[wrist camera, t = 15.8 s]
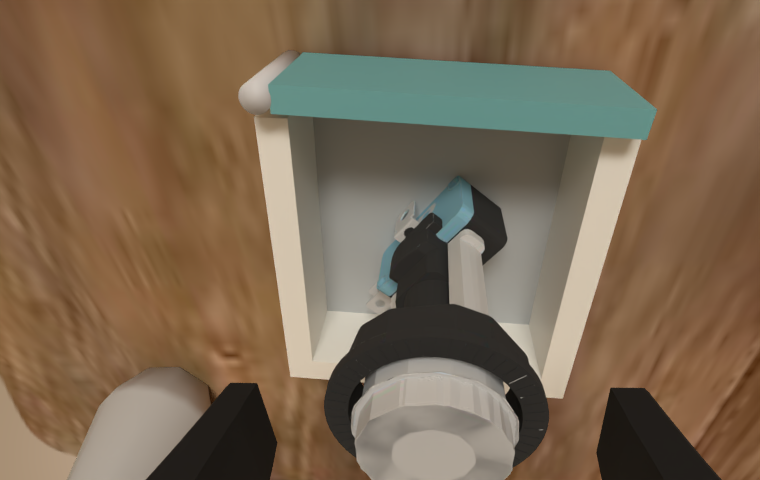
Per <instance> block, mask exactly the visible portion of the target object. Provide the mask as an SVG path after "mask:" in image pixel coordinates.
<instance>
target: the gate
mask: <svg viewBox="0 0 760 480" xmlns="http://www.w3.org/2000/svg"><path fill="white" fill-rule="evenodd" d="M239 101H240V103H241V105H242V107H243V108H244V109H245V110H246V111H248V112H249V113H251V114H254V115H261V114H264V113H265V112H267V111H268V110H269V109H270V112H271V114H278V115H293V116H307V117H322V118H336V119H351V120H365V121H380V122H394V123H409V124H423V125H438V126H452V127H467V128H481V129H496V130H510V131H525V132H539V133H554V134H568V135H583V136H597V137H612V138H626V139H641V140H647V137H648V134H649V132H650V129H651V126H652V123H653V120H654V117H655V114H656V111H657V109H656V108H655V107H653V106H652V105H651V104H650V103H648V102H647V101H646V100H645V99H644V98H642V97H641V96H640V95H639V94H638V93H636V92H635V91H634V90H633V89H632V88H630V87H629V86H628V85H627V84H625V83H624V82H623V81H622V80H621V79H619V78H618V77H617V76H616V75H615V74H613V73H612V72H611V71H604V70H587V69H571V68H554V67H537V66H521V65H504V64H487V63H471V62H454V61H438V60H421V59H404V58H388V57H371V56H354V55H338V54H321V53H305V52H303V53H302V54H300V53H298V52H297V51H294V50H288V51H285V52H284V53H282V54H281V55H280V56H279V57H277V58H276V59H275V60H274V61H272V62H271V63H270V64H269V65H267V66H266V67H265V68H264V69H262V70H261V71H260V72H259V73H257V74H256V75H255V76H253V77H252V78H251V79H250V80H248V81H247V82H246V83H245V84H243V85H242V86H241V88H240V90H239Z"/></svg>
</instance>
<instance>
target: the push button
mask: <svg viewBox="0 0 760 480" xmlns="http://www.w3.org/2000/svg"><path fill="white" fill-rule="evenodd" d="M415 204H416V202H415V201H412V202H411V203H410V204H409V205H408V206H407V207H406V208H405V209H404V210H403V211H402V212H401V213H400V215H399V216H398V218H397V219H396V226H395V232H394V233H395V235H394V238H395V239H396V240H395V241H394V242H393V243H392V244H391V245H390V246H389V247H388V248H387V249H386V251H385V252H384V254H383V257H382V262H381V268H380V274H379V280H378V281H377V282H376V283H375V284H374V285H373V286H372V287H371V288H370V289H369V293H370V294H372V295H373V296H374V297H373V298H371V299H370V300H369V301H368V302H367V303H366V306H367V307H368V308H369V309H371V310H372V311H374V312H375V313H377V314H378V316H377V317H375V318H373V319H372V320H370V321H368V322H367V323H365V324H363V325H362V326H361V327H360V328H359V330H358V333H357V335H356V337H355V339H354V342H353V344H352V346H351V348H350V350H349V352H348V353H347V354H346V355H345V356H344V357H343V358H342V359H341V360H340V361H339V363H338V364H337V365H336V367H335V368H334V370H333V372H332V374H331V376H330V379H329V382H328V386H327V390H326V395H325V400H324V410H325V416H326V420H327V423H328V425H329V428H330V430H331V431H332V433H333V435H334V436H335V438H336V439H337V440H338V442H339V443H340V444H341V445H342V446H343V447H344V448H345V449H346V450H347V451H348V452H349V453H351V454H352V455H353V456H355V457H356V458H357V462H358V463H359V465H360V467H361V469H362V470H363V471H364V472H366V473H367V474H368V476H369V477H370V478H371V479H372V480H504V479H505V478H507V477H508V476H509V475H510V474H511V471H512V468H513V467H515V466H516V465H518V464H519V463H521V462H522V461H524V460H525V459H526V458H527V457H529V456H530V455H531V454H532V453H533V452H534V451H535V450H536V448H537V447H538V446H539V444H540V443H541V441H542V439H543V438H544V436H545V433H546V430H547V427H548V422H549V409H548V403H547V399H546V394H545V391H544V388H543V385H542V383H541V381H540V379H539V377H538V375H537V374H536V372H535V371H534V369H533V368H532V367H531V366H530V365H529V361H528V357H527V355H526V353H525V352H524V351H523V350H522V349H521V348H520V347H519V346H518V345H517V344H516V343H515V341H514V340H513V339H512V338H511V337H510V336H509V335H508V334H507V333H506V332H505V331H504V329H503V328H502V327H501V326H500V325H499V324H498V323H497V322H496V321H495V320H494V319H493V318H492V317H491V316H489V312H488V304H487V296H486V289H485V281H484V273H483V265H484V264H485V263H486V262H487V261H489V260H490V259H491V258H492V257H493V256H494V255H495V254H497V253H498V252H499V251H500V250H501V249H502V248H503V247H504V246H505V245H506V243H507V239H508V238H507V233H506V229H505V224H504V220H503V216H502V211H501V208H500V207H499V206H497V205H496V204H495V203H494V202H492V201H491V200H490V199H488V198H487V197H486V196H485V195H483V194H482V193H481V192H480V191H478V190H477V189H476V188H474V187H473V186H472V185H471V184H469V183H468V182H466V181H465V180H464V179H463V178H461V177H460V176H456V177H455V178H454V179H453V180H452V181H451V182H450V183H449V184H448V185H447V187H446V188H445V189H444V190H443V191H442V192H441V193H440V194H439V195H438V196H437V197H436V199H435V200H434V201H433V202H432V203H431V204H430V205H429V206H428V207H427V208H426V209H425V210H424V211H423V212H422V213H421V214H420V215H419V216H418V217H417V218H416V219H415V218H414V217H413V216H414V215H415ZM408 211H409V212H408ZM407 212H408V214H407V215H406V217H405V218H404V219H403V217H404V215H405V214H406V213H407ZM402 219H403V220H402ZM378 290H379V291H378ZM377 300H382V301H384V302H385V305H384V306H381V307H380V306H377V305H376V304H375V302H376V301H377ZM390 306H391V308H392V309H389V310H387V309H388V308H389V307H390ZM386 310H387V311H386ZM364 377H365V382H364V387H363V385H362V383H361V380H362V379H363V378H364ZM503 381H504V382H505V383H506V384H507V385H508V386H509V387H510V389H509V391H508V392H507V394H506V395H505V390H504V384H503Z"/></svg>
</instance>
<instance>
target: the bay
mask: <svg viewBox="0 0 760 480" xmlns="http://www.w3.org/2000/svg"><path fill="white" fill-rule="evenodd" d="M254 121H255V128H256V135H257V142H258V149H259V156H260V163H261V170H262V177H263V185H264V192H265V199H266V206H267V213H268V220H269V227H270V234H271V241H272V248H273V255H274V263H275V270H276V277H277V284H278V291H279V298H280V305H281V312H282V319H283V326H284V333H285V341H286V348H287V355H288V362H289V369H290V376H291V377H302V378H314V379H327V380H329V379H330V376H331V374H332V372H333V370H334V368H335V367H336V365H337V364H338V363H339V361H340V360H341V359H342V358H343V357H344V356H345V355H346V354H347V353H348V352H349V350H350V348H351V346H352V344H353V342H354V339H355V337H356V335H357V333H358V330H359V328H360V327H361V326H362V325H363V324H365V323H367V322H368V321H370V320H372V319H373V318H375V317H377V316H378V314H377V313H375V312H374V311H372V310H371V309H369V308H368V307H367V306H366V303H367V302H368V301H369V300H370V299H371V298H373V297H374V296H373V295H372V294H370V293H369V289H370V288H371V287H372V286H373V285H374V284H375V283H376V282H377V281H378V280H379V274H380V268H381V262H382V257H383V254H384V252H385V251H386V249H387V248H388V247H389V246H390V245H391V244H392V243H393V242H394V241H395V240H396V239H395V238H394V235H395V233H394V232H395V226H396V219H397V218H398V216H399V215H400V213H401V212H402V211H403V210H404V209H405V208H406V207H407V206H408V205H409V204H410V203H411V202H412V201H415V202H416V204H415V215H414V216H413V217H414V218H415V219H416V218H417V217H418V216H419V215H420V214H421V213H422V212H423V211H424V210H425V209H426V208H427V207H428V206H429V205H430V204H431V203H432V202H433V201H434V200H435V199H436V197H437V196H438V195H439V194H440V193H441V192H442V191H443V190H444V189H445V188H446V187H447V185H448V184H449V183H450V182H451V181H452V180H453V179H454V178H455V177H456V176H460V177H461V178H463V179H464V180H465V181H466V182H468V183H469V184H471V185H472V186H473V187H474V188H476V189H477V190H478V191H480V192H481V193H482V194H483V195H485V196H486V197H487V198H488V199H490V200H491V201H492V202H494V203H495V204H496V205H497V206H499V207H500V208H501V211H502V216H503V220H504V224H505V229H506V233H507V238H508V239H507V243H506V245H505V246H504V247H503V248H502V249H501V250H500V251H499V252H498V253H497V254H495V255H494V256H493V257H492V258H491V259H490V260H489V261H487V262H486V263H485V264H484V265H483V273H484V281H485V289H486V296H487V304H488V312H489V316H491V317H492V318H493V319H494V320H495V321H496V322H497V323H498V324H499V325H500V326H501V327H502V328H503V329H504V331H505V332H506V333H507V334H508V335H509V336H510V337H511V338H512V339H513V340H514V341H515V343H516V344H517V345H518V346H519V347H520V348H521V349H522V350H523V351H524V352H525V353H526V355H527V357H528V361H529V365H530V366H531V367H532V368H533V369H534V371H535V372H536V374H537V375H538V377H539V379H540V381H541V383H542V385H543V388H544V391H545V394H546V397H548V398H561V399H563V396H564V392H565V389H566V386H567V383H568V379H569V376H570V373H571V369H572V366H573V363H574V360H575V356H576V353H577V350H578V346H579V343H580V340H581V337H582V333H583V330H584V327H585V323H586V320H587V317H588V314H589V310H590V307H591V304H592V300H593V297H594V294H595V291H596V287H597V284H598V281H599V277H600V274H601V271H602V268H603V264H604V261H605V258H606V254H607V251H608V248H609V245H610V241H611V238H612V235H613V231H614V228H615V225H616V222H617V218H618V215H619V212H620V208H621V205H622V202H623V199H624V195H625V192H626V189H627V185H628V182H629V179H630V176H631V172H632V169H633V166H634V162H635V159H636V156H637V153H638V149H639V146H640V143H641V139H626V138H612V137H597V136H583V135H568V134H554V133H539V132H525V131H510V130H496V129H481V128H467V127H452V126H438V125H423V124H409V123H394V122H380V121H365V120H351V119H336V118H322V117H307V116H293V115H278V114H271V112H270V109H269V110H268V111H267V112H265V113H264V114H261V115H256V116H255V117H254ZM408 212H409V211H408ZM408 212H407V213H406V214H405V215H404V217H403V219H404V218H405V217H406V215H407V214H408ZM403 219H402V220H403ZM378 291H379V290H378ZM375 304H376V305H377V306H380V307H381V306H384V305H385V302H384V301H382V300H377V301H376V302H375ZM389 309H392V308H391V306H390V307H389V308H388V309H387V310H389ZM387 310H386V311H387ZM361 382H363V383H364V382H365V377H364V378H363V379H362V380H361ZM503 384H504V390H505V394H507V392H508V391H509V389H510V387H509V386H508V385H507V384H506V383H505V382H504V381H503Z"/></svg>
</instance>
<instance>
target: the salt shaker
mask: <svg viewBox="0 0 760 480" xmlns="http://www.w3.org/2000/svg"><path fill="white" fill-rule="evenodd" d="M210 405H211V402H210V396H209V389H208V385H207V384H205V383H204V382H202V381H201V380H199V379H197V378H196V377H194V376H193V375H191V374H190V373H188V372H186V371H185V370H183V369H182V368H180V367H165V368H148V369H146V370H144V371H143V372H141V373H140V374H138V375H136V376H135V377H133V378H131V379H130V380H128V381H126V382H125V383H123V384H122V385H120V386H118V387H117V388H116V389H115V390H114V391H113V392H112V393H111V394H110V395H109V396H108V397H107V398H106V399H105V400H104V402H103V403H102V404H101V405H100V406H99V408H98V410H97V412H96V415H95V417H94V419H93V422H92V424H91V426H90V428H89V431H88V433H87V435H86V437H85V440H84V442H83V444H82V446H81V449H80V451H79V453H78V456H77V458H76V460H75V462H74V465H73V467H72V469H71V472H70V474H69V476H68V479H67V480H146V479H147V478H148V476H149V475H150V474H151V473H152V472H153V471H154V470H155V469H156V468H157V466H158V465H159V464H160V463H161V462H162V461H163V460H164V459H165V457H166V456H167V455H168V454H169V453H170V452H171V451H172V450H173V448H174V447H175V446H176V445H177V444H178V443H179V442H180V441H181V439H182V438H183V437H184V436H185V435H186V434H187V432H188V431H189V430H190V429H191V428H192V427H193V425H194V424H195V423H196V422H197V421H198V420H199V418H200V417H201V416H202V415H203V414H204V413H205V411H206V410H207V409H208V408H209V407H210Z"/></svg>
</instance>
